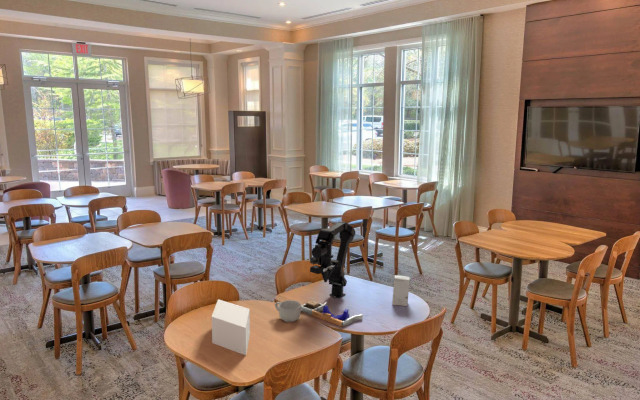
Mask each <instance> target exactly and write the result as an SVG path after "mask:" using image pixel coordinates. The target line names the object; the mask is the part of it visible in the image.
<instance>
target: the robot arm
mask: <svg viewBox="0 0 640 400" xmlns="http://www.w3.org/2000/svg"><path fill="white" fill-rule="evenodd" d="M338 234H339V237H338V238H339V240H340V244H339V248H338V251H337V256H336V259H332V258H334V255H333V254H332V252H333V251H332V250H333V249H332V247H333V246H332V245H333V244H334V242H333V241H334V239H335V238H336V237H335V236H336V235H338ZM355 236H356V229H355V228H354V227H353V226H352V225H350V224H349V223H348V222H347V221H341V220H340V221H338V222H337V223H336V224H334V225H332V226H331V227H329V228H321V229H320V231H318V234H317V236H316V240H315V244H314V247H313V248H312V249H311V255H312V257H309V263H310V264H312V266H310V267H309V273H314V274H317V275H320V274H321V277H322V280H323V282H324V283H327V282H328V284H329V285H331V293H329V296H332V297H335V298H337V299H338V298H339V299H340V298H341V297H344V296H346V293H344V287H346V286H347V284H348V283H347V282H348V281H347V279H346V277H345V275H346V274H345V271H344V266H345V263H346V258H347V254H348V250H349V247H350V246H349V245H350V243H352V242H353V240H354V238H355Z"/></svg>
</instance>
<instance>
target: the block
mask: <svg viewBox="0 0 640 400" xmlns="http://www.w3.org/2000/svg"><path fill="white" fill-rule="evenodd" d="M250 312H251V311H250V308H248V307H245V306H241V305H237V304H235V303H232V302H228V301H225V300H222V299H217V301H216V304H215V306H214V310H213V311H212V314H211V342H212V344H213V345H217V346H220V347H223V348H225V349H227V350H231V351H233V352H235V353H239V354H241V355H244V356H247V352H248V347H249V341H250V335H251V322H250V321H251V320H250V317H251V315H250V314H251V313H250Z"/></svg>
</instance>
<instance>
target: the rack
mask: <svg viewBox="0 0 640 400" xmlns="http://www.w3.org/2000/svg"><path fill="white" fill-rule="evenodd" d="M325 305H326V306H328V301H325V302H324V303H323V304H322V303H321V302H317V301H315V300H309V301H306V302H305V303H304V304H301V313H305V314H307V315H310V316H313V317H315V318H318V319H320V320H323V321H325V322H328V323H331V324H333V325H337V326H339V327H341V328H344V327H346V326H349V325H350V324H352V323H354V322H358V321H363V314H355V315H353V316H351V317H350V316H349V318H348V319H346V320H344V321H341V320H338V319H335V318H333V317H331V314H328V313H326V312H325V313H324V314H323V307H324V306H325ZM321 312H322V313H321Z"/></svg>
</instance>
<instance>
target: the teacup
mask: <svg viewBox="0 0 640 400" xmlns="http://www.w3.org/2000/svg"><path fill="white" fill-rule="evenodd" d="M301 305H302V303H300V301H298V300H295V299H294V300H293V299H288V300H283V301H277V302H275V303H274V307H275V310H277V311H278V314H279V318H280V319H281V320H282V321H283V322H286V323H294V322H296V321H297V320H298V319H300V316H301V313H302V311H301Z"/></svg>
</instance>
